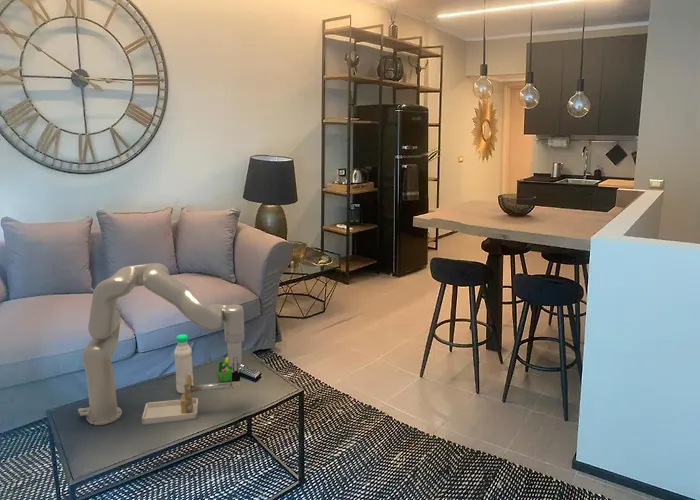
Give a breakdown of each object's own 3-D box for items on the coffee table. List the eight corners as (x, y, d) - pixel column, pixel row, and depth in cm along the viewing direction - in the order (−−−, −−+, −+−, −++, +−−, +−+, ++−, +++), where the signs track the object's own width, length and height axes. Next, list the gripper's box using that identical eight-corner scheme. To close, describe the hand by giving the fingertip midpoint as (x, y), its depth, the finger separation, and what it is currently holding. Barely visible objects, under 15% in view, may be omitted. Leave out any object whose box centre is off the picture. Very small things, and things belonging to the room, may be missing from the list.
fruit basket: (218, 372, 246) (217, 349, 243) (238, 370, 248) (237, 347, 245) (217, 383, 235) (216, 360, 233) (238, 382, 237) (237, 358, 234)
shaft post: (186, 416, 208) (184, 384, 205) (187, 405, 216) (185, 375, 212) (191, 415, 209) (189, 384, 205) (192, 405, 216) (191, 374, 213)
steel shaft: (189, 393, 209) (188, 372, 207) (189, 389, 212) (188, 368, 209) (240, 388, 213) (239, 367, 211) (240, 385, 216) (239, 364, 214)
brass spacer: (181, 415, 209) (180, 401, 207) (182, 407, 214) (182, 394, 213) (185, 415, 209) (184, 401, 208) (187, 407, 215) (186, 393, 213)
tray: (142, 424, 203) (141, 418, 202) (146, 408, 214) (146, 402, 214) (196, 419, 207) (196, 413, 207) (198, 403, 219) (198, 397, 218)
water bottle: (188, 395, 225) (185, 339, 219) (173, 393, 226) (169, 338, 220) (196, 387, 232) (193, 333, 226) (181, 385, 233) (178, 331, 227)
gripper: (224, 328, 216) (226, 370, 220) (224, 345, 200) (226, 389, 205) (243, 327, 217) (244, 369, 222) (244, 343, 202) (246, 388, 206)
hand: (236, 378), depth 213 cm, fingers closed on steel shaft, 3 cm apart
